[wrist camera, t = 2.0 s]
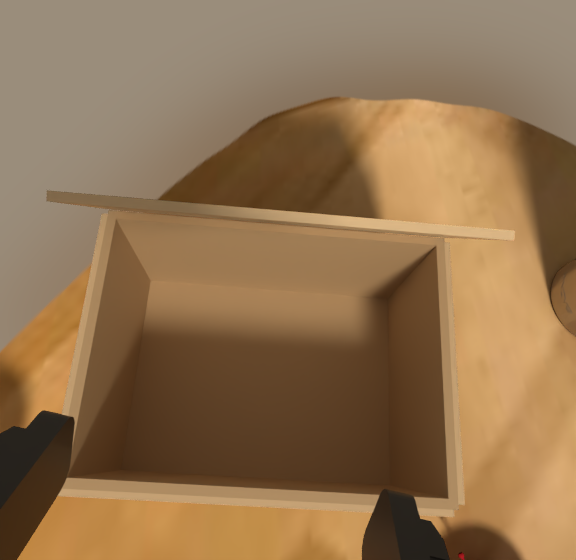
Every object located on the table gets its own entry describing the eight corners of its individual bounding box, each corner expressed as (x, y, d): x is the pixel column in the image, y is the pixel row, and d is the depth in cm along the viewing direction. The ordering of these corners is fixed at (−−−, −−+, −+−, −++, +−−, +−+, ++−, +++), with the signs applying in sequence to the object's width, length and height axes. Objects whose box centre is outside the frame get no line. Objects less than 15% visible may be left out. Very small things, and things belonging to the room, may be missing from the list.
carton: (395, 296, 49) (449, 238, 36) (398, 497, 43) (465, 517, 30) (142, 276, 48) (102, 209, 35) (109, 481, 42) (45, 495, 29)
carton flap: (437, 237, 36) (438, 230, 36) (513, 240, 25) (515, 230, 25) (115, 210, 35) (115, 202, 35) (46, 201, 24) (47, 190, 24)
